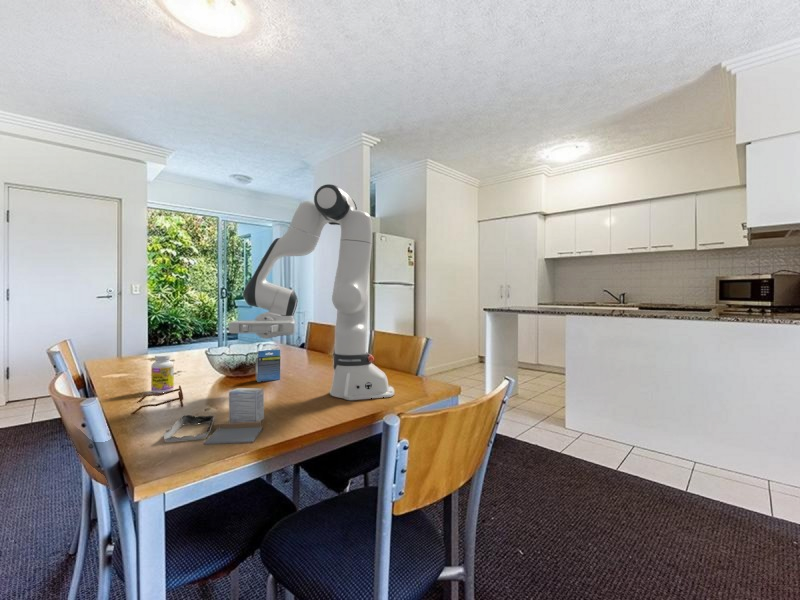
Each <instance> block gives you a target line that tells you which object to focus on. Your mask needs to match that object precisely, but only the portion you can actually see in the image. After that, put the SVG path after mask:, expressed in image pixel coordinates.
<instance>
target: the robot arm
mask: <svg viewBox="0 0 800 600" xmlns="http://www.w3.org/2000/svg"><path fill="white" fill-rule="evenodd" d="M327 224H329V225H333V226H336V225H337V226H340V241H339V250H338V261H337V268H336V272H335V276H334V281H333V282H334V283H333V289H332V290H333V291H332V295H331V301H332V305H333V306H334V308H335V309H336V310H337V311H336V321H335V328H334V352H333V356H332V368H333V377H332V383H331V384H332V385H331V387H330V391H329V395H330V396H332V397H334V398H339V399H344V400H346V401H357V400H369V399H370V400H371V398H372V399H383V397H384V398H391V397H393V396H394V395H395V387H393V386H392V385H389V381H388V376H387V375H386V373H385V372H384V371H383V370H381V369H380V368H379V367H378V366H376V365H375V364H374V363H373V362H374V361H375V358H374V356H373V355H372V354H371V353H369V352H367V342H368V339H367V336H368V335H367V330H368V315H369V313H368V312H369V311H368V310H369V309H368V308H369V293H368V291H367V287H368V279H369V275H370V274H369V272H370V268H371V267H370V266H371V258H372V247H373V221H372V217H371V215H370V214H369V213H368V212H365V211H364V210H360V209H358V208H357V205H356V202H355V201H354V200H353V198H351V196H350V195H349V194H348V193H347V192H346V191H345V190H343V189H342V188H341V187H339V186H337V185H336V184H330V183H329V184H328V183H327V184H323V185H321V186H320V187H318V189H317V190H316V191H315V193H314V197H313V200H305V201H303V202H302V201H301V203H300V204H299V206H298V207H297V208H296V211H295V212H294V213H293V215H292V219H291V221H290V224H289V226H288V229H287V231H286V232H285V233H284V234H283V235H282V236H280V237H276V238H275V239H274V240H273V242H272V243H271V244H270V246H268V249H267V250H266V252H265V254H264V256H263V257H262V258H261V261H260V263H259V264H258V266H257V268H256V270H255V271H254V273H253V275H252V277H251V278H250V280H249V281H248V283H247V284H245V285H246V286H245V287H244V289H243V292H242V297H243V299H244V301H245V302H246V304H247V305H248V306H252V307H255V308H260V309H263V310H266V312H262V313H260V314H258V315H257V316H256V317H255V318H254V319H253V320H233V321H230V322H228V333H229V334H256V336H258V337H259V338H260V339H265V340H267V339H272V338H276V337H282V336H292V335H294V334H295V333H296V320H295V318H294V315H295V312H296V309H297V306H298V296H297V294H296V292H295V290H292V289H290V288H289V287H288V288H287V287H284V286H281V285H279V284H275V283H273V282H269V281H268V280H267V278H268V276H269V274H270V272H271V271H272V269H273V267H274V265H275V263H276V262H277V261H278V260H279V259H280V258H281V259H282V258H284V257H302V256H303V257H304V256H307V255H309V254H311V253H313V252H314V251H315V249H316V247H317V245H318V243H319V240H320V237H321V234H322V232H323V229H324V227H325V225H327Z"/></svg>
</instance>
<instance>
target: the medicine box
mask: <svg viewBox="0 0 800 600" xmlns="http://www.w3.org/2000/svg"><path fill="white" fill-rule="evenodd" d="M264 401H265V399H264V389H263V388H258V387H256V388H255V387H254V388H253V387H252V388H251V387H246V388H245V387H237V388H234V389H232V390H230V391H229V392H228V408H229V409H228V410H229V411H228V417H229V418H228V419H229V421H228V423H234V422H262V421H263V420H264V419H265V404H264Z"/></svg>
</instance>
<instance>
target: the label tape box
mask: <svg viewBox="0 0 800 600" xmlns="http://www.w3.org/2000/svg"><path fill="white" fill-rule="evenodd" d="M269 353H270V354H269ZM277 380H279V381H280V380H281V349H269V350H268V349H267V350H257V358H256V359H255V381H257V383H261V381H263V382H267V381H268V382H270V381H277Z"/></svg>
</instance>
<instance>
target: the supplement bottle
mask: <svg viewBox="0 0 800 600" xmlns="http://www.w3.org/2000/svg"><path fill="white" fill-rule="evenodd" d="M170 359H171V354H169V353H161V354H160V353H159V354H155V355H154V360H155V361H154V362H152V364H151V370H150V373H151V377H150V378H151V380H150V381H151V387H150V388H151V393H152V394H161V393H163V392H168V391H171V390H174V386H175V385H174V384H175V382H174V377H175V376H174V369H175V367H174V362H173V361H171V360H170Z"/></svg>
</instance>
